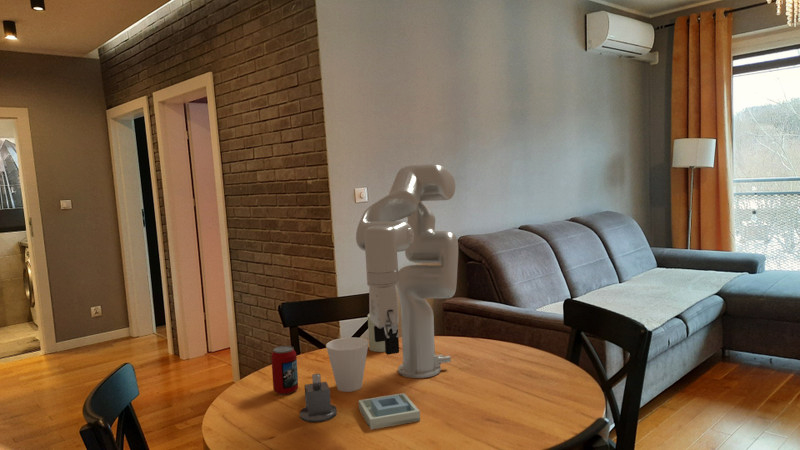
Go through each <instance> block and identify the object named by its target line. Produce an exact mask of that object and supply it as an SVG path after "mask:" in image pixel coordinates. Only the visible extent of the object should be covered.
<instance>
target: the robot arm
mask: <svg viewBox="0 0 800 450" xmlns="http://www.w3.org/2000/svg"><path fill="white" fill-rule="evenodd" d="M455 181H456V180H455V179H454V176H453V174H452V173H451V172H450V171H449V170H448V169H447V168H446V167H444V166H442V165H440V164H434V163H431V164H413V165H412V164H411V165H405V166H403V167H401V168H400V169H399V170H398V172H397V173H396V176H395V178H394V181H393V183H392V185H391V188H390V191H389V193H388V194H387V195H386V196H383V197H382V198H380V199H379V200H377V201H376V202H374V203H373V204H371V205H370V206H368V208H366V209H365V211H364V212H363V213H362V216H361V218H360V220H359V222H358V224H357V228H356V233H355V240H356V245H357V247H358V248H359V249H360V250H362V251H364V252H365V254H364V255H365V266H366V267H365V268H366V283H367V286H368V287H369V289H368V291H369V292H368V293H369V295H368V297H369V300H368V302H369V304H368V306H369V314H370V320H371V321H372V322H373V323H374V335H375V341H376V342H381V341H385V352H384V353H385V355H387V356H388V355H394V354H395V355H396V354H398V353H400V341H399V328H398V326H399V322H400V321H401V343H402V363H401V364H400V365H399V366H397V370H398V374H399V375H401V376H403V377H406V378H412V379H423V378H431V377H434V376H436V375H438V374H439V373H441V371H442V370H441V369H442V368H441V365H442V364H443V363H451V361H452V359H451V356H450V355H444V354H438V355H437V354H436V353H435V352H436V349H435V323H434V322H435V321H434V311H433V308H432V307H431V305H430V303H429V302H428V301H427V299H450V298H453V296H455V293H456V290H457V284H458V283H457V281H458V264H459V242H458V237H457V236H456V234H455V233H453V232H452V231H446V230H436V217H435V215H434V213H433V211H431V209H430V208H429V207H428V206H427V205H426V204H425V203H424V202H429V201H431V202H432V201H434V202H435V201H436V202H438V201H439V202H440V201H450V200H451V199H452V198H453V197H454V195H455V192H456V182H455ZM405 218H406V219H407V222H406V221H400V220H403V219H405ZM398 252H404V254H405V258H406V259H407V260H408V261H409V262H411V263H417V264H410V265H406V266H403V267H401V268H400V269H399V265H398V264H399V263H398ZM420 264H421V265H420ZM423 264H424V265H423ZM427 264H428V265H427ZM429 264H430V265H429ZM431 264H440V265H431ZM397 295H398V296H397ZM398 297H399V303H398ZM398 304H399V305H400V317H401V318H400V319H401V320H400V319H399V305H398ZM399 320H400V321H399ZM389 323H391V324H389ZM386 324H387V325H386ZM388 328H391V329H390V330H389V332H388Z"/></svg>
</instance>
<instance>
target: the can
mask: <svg viewBox="0 0 800 450" xmlns="http://www.w3.org/2000/svg"><path fill="white" fill-rule="evenodd" d="M389 324H391V323H389ZM386 325H387V324H386ZM367 327H368V342H369V344H368V350H369V351H372V352H375V353H385V341H381V342H376V341H375V335H374V323H373V322H372V321H371V320H370V313H368V314H367ZM390 329H391V328H388V332H389V330H390Z"/></svg>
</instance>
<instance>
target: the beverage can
mask: <svg viewBox="0 0 800 450" xmlns="http://www.w3.org/2000/svg"><path fill="white" fill-rule="evenodd" d="M271 371H272V385H273V392H275V393H277V394H278V395H281V396H283V395H290V394H292V393H294V392H296V391H297V390H298V389H299V377H298V376H299V373H298V358H297V352H296V351H295V349H294V346H292V345H280V346H277V347H275V348H274V349H273V351H272V354H271Z"/></svg>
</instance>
